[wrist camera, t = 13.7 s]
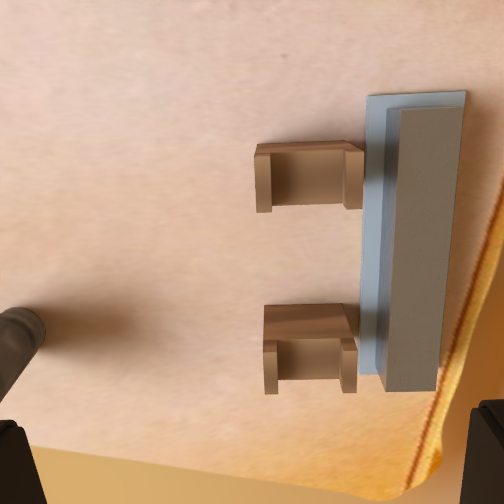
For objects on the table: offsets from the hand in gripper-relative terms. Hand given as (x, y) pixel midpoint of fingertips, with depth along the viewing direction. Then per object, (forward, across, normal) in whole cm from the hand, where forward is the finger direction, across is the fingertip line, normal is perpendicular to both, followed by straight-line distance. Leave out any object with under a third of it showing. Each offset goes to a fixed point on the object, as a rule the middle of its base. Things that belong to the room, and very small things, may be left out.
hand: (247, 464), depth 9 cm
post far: (+28, -3, +13) cm, 31 cm away
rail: (+28, -12, +6) cm, 31 cm away
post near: (+29, -3, -1) cm, 29 cm away
